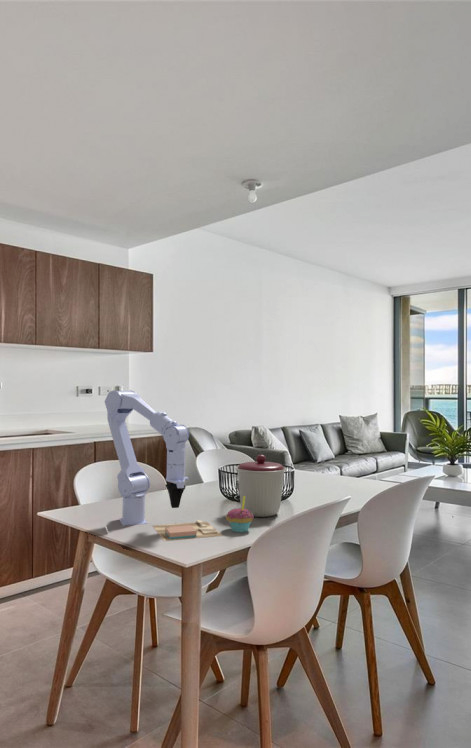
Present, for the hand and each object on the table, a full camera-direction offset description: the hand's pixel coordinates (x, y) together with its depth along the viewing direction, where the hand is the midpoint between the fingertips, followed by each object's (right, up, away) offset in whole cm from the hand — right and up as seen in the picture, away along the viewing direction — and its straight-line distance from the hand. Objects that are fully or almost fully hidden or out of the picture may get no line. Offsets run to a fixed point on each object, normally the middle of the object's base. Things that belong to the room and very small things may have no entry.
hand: (175, 507), depth 167 cm
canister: (+28, -8, +23) cm, 37 cm away
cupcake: (+20, -8, -1) cm, 22 cm away
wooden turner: (+9, -7, +1) cm, 11 cm away
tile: (+1, -6, -4) cm, 7 cm away
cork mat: (+4, -7, -2) cm, 8 cm away
